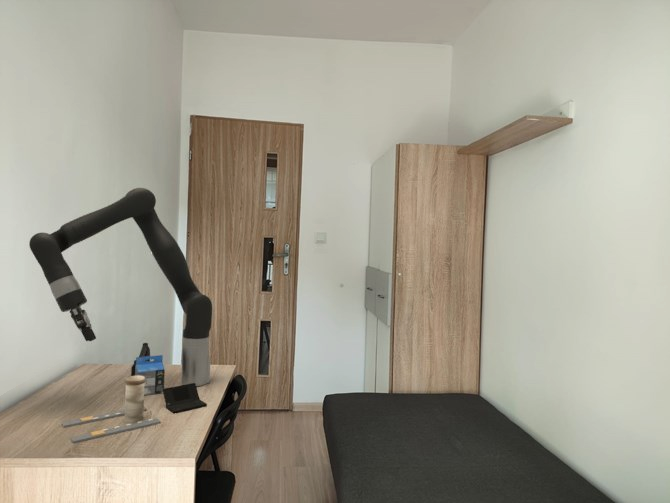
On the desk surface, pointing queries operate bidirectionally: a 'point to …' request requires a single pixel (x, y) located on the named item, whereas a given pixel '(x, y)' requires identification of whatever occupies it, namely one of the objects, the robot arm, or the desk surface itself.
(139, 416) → the cream stub
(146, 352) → the black tall piece
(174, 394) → the handheld gaming console
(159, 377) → the label tape cartridge
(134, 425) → the dashed lane plates
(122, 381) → the desk surface
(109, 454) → the desk surface
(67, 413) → the desk surface
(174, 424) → the desk surface
